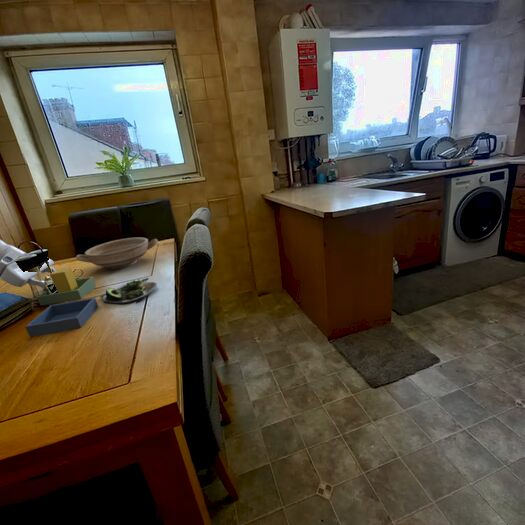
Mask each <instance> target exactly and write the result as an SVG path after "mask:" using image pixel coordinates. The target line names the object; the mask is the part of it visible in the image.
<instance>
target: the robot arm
mask: <svg viewBox="0 0 525 525" xmlns="http://www.w3.org/2000/svg"><path fill="white" fill-rule="evenodd" d="M27 254H28V253H27V252H26V251H24V250H21V249H19V248H18V247H16V246H15V245H12V244H8V243H7V242H4V241H3V239H2V237H1V236H0V279H1V281H3V282H5V283H7V284H9V285H11V286H13V287H17V288H23V287H24V286H26V285H27V284H29V285H31V286H36V287H37V286H38V287H40V288H44V287H46V286H47V283H48V282H46V281H44V280H39V279H37V278H36V276H35V275H36V274H38V273H37V272H28V271H25V272H23V271H22V270H21V269H20V268H19V266H18V265H17V263H16V262H15V260H16V259H18V258H20V257H23V256H25V255H27ZM48 262H49V265H50V267H51V269H52V272H54V271H56V270H57V269H55V268H54V264H55V262H54V261H53V260H52V259H51V258H49V260H48ZM40 272H41V275H43V274H45V273H50V271H49V268H48V266H47V264H46V263H44V264H43V265H42V267H41V268H40Z"/></svg>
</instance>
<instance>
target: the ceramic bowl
mask: <svg viewBox="0 0 525 525" xmlns="http://www.w3.org/2000/svg"><path fill="white" fill-rule="evenodd" d="M157 244H158V239H157V238H153V239H151V240H150V241H149V239H148V238H146V237H141V236H139V237H136V236H135V237H127V238H120V239H115V240H110V241H108V242H104V243H101V244H97V245H95V246H93V247H91V248H89V249H87V250H86V251H85V252H84V254H77V255H76V256H75V259H76V260H77V261H79V262H83V263H91V264H92V265H95V266H97V267H104V268H105V267H107V268H109V269H110V268H111V270H119V269H123V268H128V267H130V266H132V265H134V264H136V263H137V262H138V260H139V259H140V258H142V257H143V256H144V255H146V254H147V252H148V251H149V250H151V249H152V248H154V247H155V246H156V245H157ZM118 268H119V269H118Z"/></svg>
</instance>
